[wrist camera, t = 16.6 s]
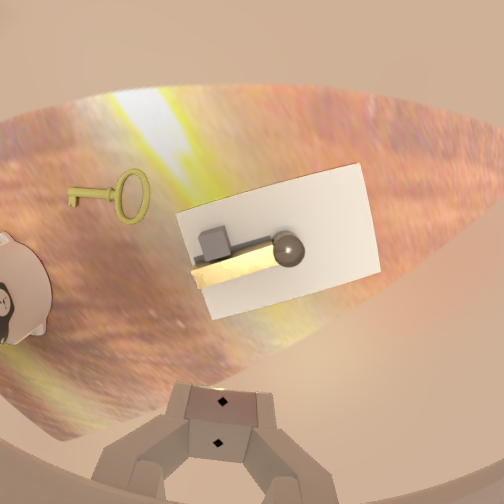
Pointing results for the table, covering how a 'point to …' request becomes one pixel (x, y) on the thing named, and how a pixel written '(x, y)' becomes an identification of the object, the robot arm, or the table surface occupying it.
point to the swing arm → (251, 260)
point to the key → (115, 195)
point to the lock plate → (291, 219)
